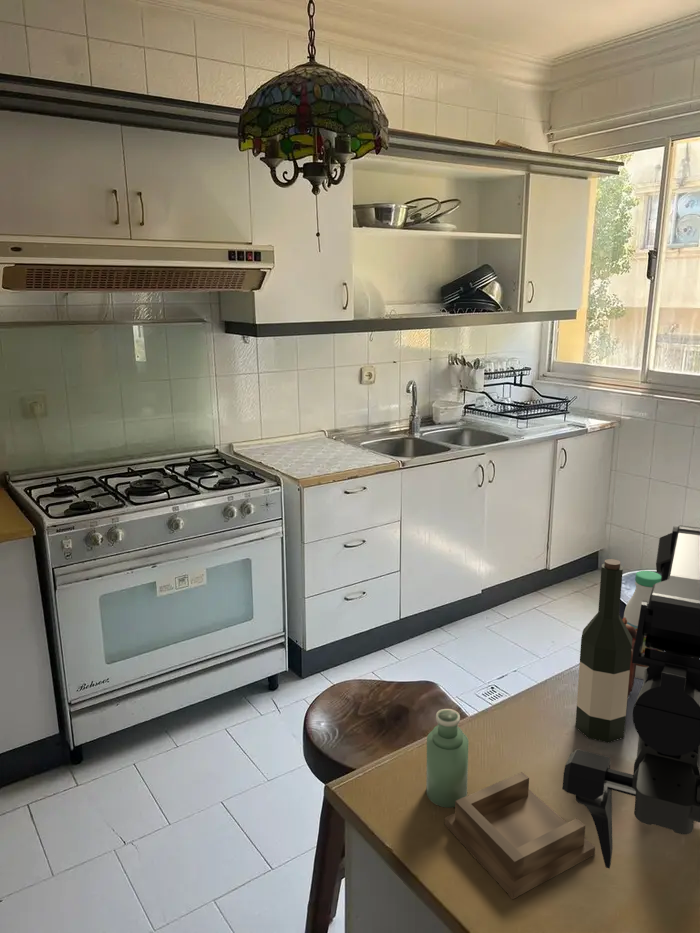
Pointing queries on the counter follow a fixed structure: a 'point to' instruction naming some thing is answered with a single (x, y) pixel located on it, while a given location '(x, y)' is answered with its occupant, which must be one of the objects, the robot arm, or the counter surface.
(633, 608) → the milk bottle
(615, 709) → the wine bottle
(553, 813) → the bottle rest
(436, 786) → the green bottle
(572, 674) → the counter surface
